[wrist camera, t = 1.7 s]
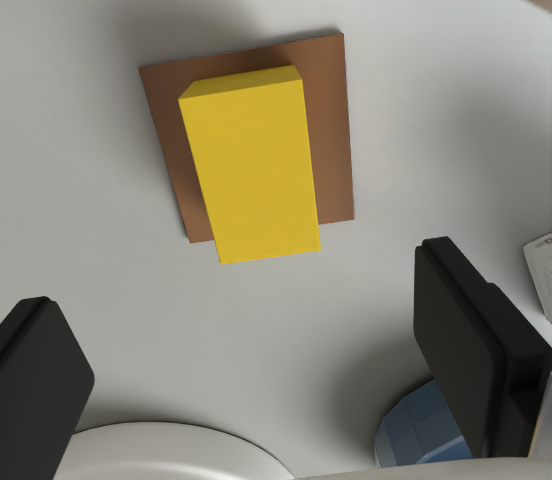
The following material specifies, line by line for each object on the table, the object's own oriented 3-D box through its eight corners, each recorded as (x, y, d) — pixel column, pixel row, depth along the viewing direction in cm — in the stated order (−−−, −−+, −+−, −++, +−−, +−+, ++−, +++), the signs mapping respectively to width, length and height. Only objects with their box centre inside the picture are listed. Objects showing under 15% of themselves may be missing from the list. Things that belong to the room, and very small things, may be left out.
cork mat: (342, 32, 20) (343, 33, 19) (353, 216, 25) (354, 219, 24) (140, 66, 20) (137, 67, 20) (190, 240, 25) (189, 243, 25)
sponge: (294, 64, 20) (302, 78, 16) (311, 210, 24) (321, 250, 20) (193, 81, 20) (177, 98, 16) (227, 223, 24) (220, 265, 20)
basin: (598, 341, 30) (661, 403, 26) (555, 473, 39) (596, 539, 34) (368, 371, 31) (387, 437, 26) (374, 494, 40) (390, 561, 35)
